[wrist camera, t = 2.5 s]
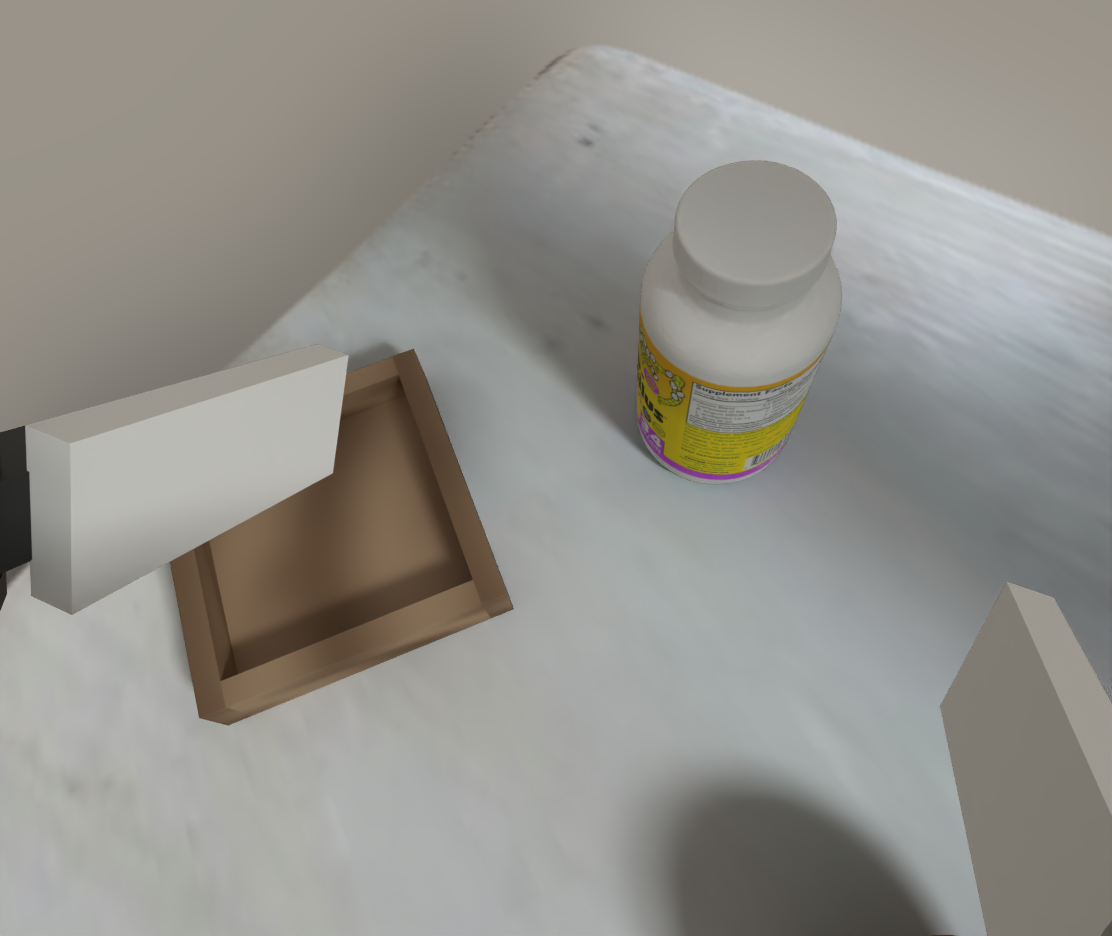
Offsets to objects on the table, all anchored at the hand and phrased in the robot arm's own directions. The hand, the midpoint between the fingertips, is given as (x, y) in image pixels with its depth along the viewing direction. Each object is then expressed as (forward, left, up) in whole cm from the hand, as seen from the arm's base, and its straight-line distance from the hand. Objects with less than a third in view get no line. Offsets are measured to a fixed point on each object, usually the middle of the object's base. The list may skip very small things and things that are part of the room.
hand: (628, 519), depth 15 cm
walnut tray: (+9, -10, -17) cm, 22 cm away
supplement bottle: (-8, -9, -17) cm, 21 cm away
